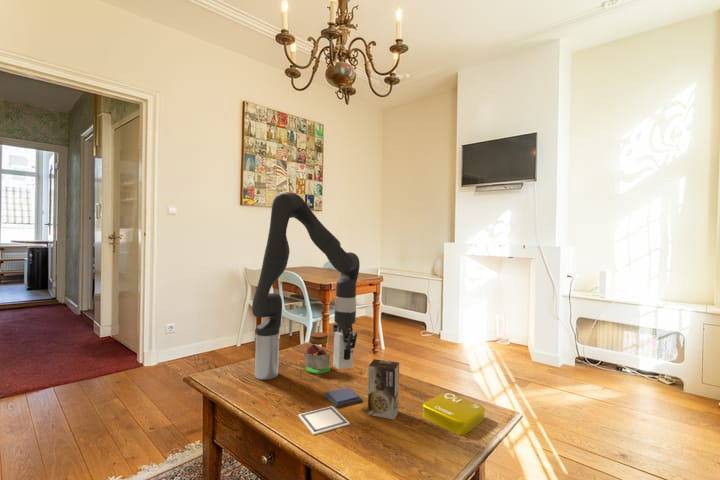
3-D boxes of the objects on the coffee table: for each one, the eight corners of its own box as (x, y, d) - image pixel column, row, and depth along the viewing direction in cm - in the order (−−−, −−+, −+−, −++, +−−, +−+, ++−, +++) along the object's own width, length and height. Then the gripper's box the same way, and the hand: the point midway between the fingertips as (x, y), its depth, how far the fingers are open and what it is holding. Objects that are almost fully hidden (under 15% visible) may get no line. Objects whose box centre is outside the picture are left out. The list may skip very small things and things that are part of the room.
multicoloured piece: (303, 364, 152) (303, 330, 152) (331, 363, 153) (332, 330, 153) (301, 374, 140) (302, 338, 140) (332, 374, 142) (333, 338, 142)
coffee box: (398, 410, 113) (400, 362, 113) (394, 420, 107) (395, 369, 107) (372, 405, 116) (373, 358, 116) (366, 414, 110) (368, 364, 110)
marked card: (298, 415, 108) (298, 414, 108) (332, 407, 114) (332, 405, 114) (313, 435, 97) (313, 433, 97) (349, 424, 104) (349, 422, 104)
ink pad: (323, 395, 122) (323, 391, 122) (348, 390, 127) (348, 385, 127) (336, 407, 114) (336, 403, 114) (361, 401, 119) (362, 396, 119)
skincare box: (338, 370, 117) (339, 335, 117) (332, 365, 121) (333, 331, 121) (353, 366, 121) (355, 332, 120) (347, 362, 124) (348, 329, 124)
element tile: (420, 417, 110) (420, 402, 110) (446, 403, 120) (446, 389, 120) (461, 438, 99) (462, 421, 99) (486, 420, 109) (487, 405, 109)
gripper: (327, 305, 125) (325, 352, 125) (345, 314, 113) (343, 365, 113) (345, 304, 129) (343, 349, 129) (365, 312, 116) (363, 362, 117)
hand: (343, 356), depth 121 cm, fingers closed on skincare box, 4 cm apart
